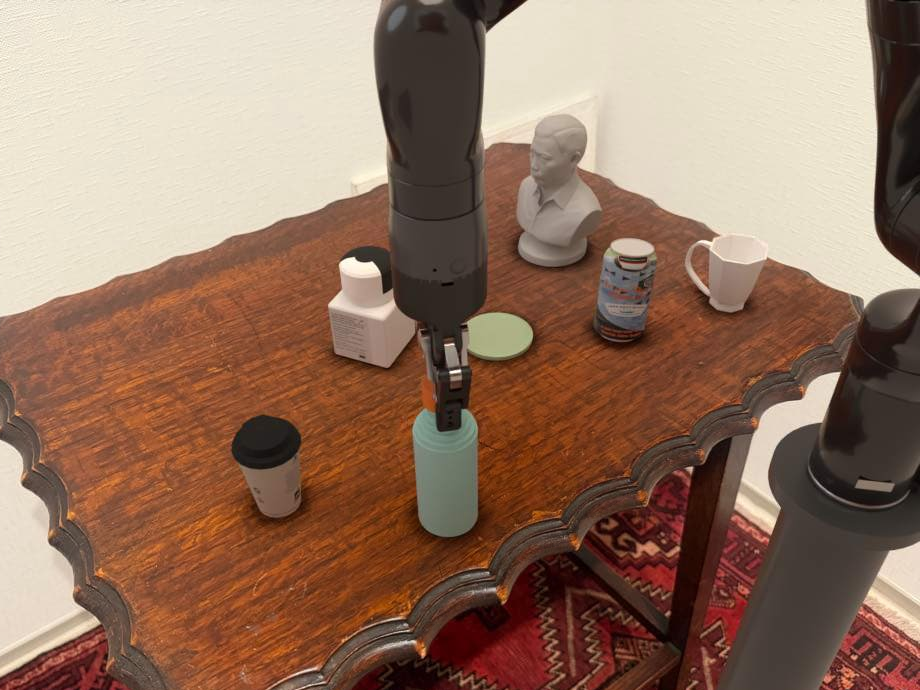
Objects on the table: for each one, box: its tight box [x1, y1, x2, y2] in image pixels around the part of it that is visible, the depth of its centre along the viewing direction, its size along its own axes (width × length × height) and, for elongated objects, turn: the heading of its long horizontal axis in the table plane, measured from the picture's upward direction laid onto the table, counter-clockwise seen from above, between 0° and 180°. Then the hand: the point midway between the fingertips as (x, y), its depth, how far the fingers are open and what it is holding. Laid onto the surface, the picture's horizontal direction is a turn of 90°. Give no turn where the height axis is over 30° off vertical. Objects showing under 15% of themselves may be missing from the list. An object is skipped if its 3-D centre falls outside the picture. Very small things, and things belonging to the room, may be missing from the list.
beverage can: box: [593, 237, 658, 343], centre depth 103 cm, size 6×7×12 cm
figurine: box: [515, 113, 604, 268], centre depth 115 cm, size 9×13×20 cm
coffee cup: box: [230, 414, 302, 519], centre depth 88 cm, size 7×7×10 cm
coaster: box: [465, 312, 534, 362], centre depth 108 cm, size 9×9×1 cm
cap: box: [420, 372, 435, 413], centre depth 77 cm, size 4×4×2 cm
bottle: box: [412, 407, 479, 538], centre depth 82 cm, size 6×6×18 cm
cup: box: [684, 232, 771, 313], centre depth 108 cm, size 7×10×8 cm
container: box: [327, 245, 416, 369], centre depth 105 cm, size 8×8×13 cm
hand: (444, 411), depth 78 cm, fingers closed on cap, 3 cm apart
